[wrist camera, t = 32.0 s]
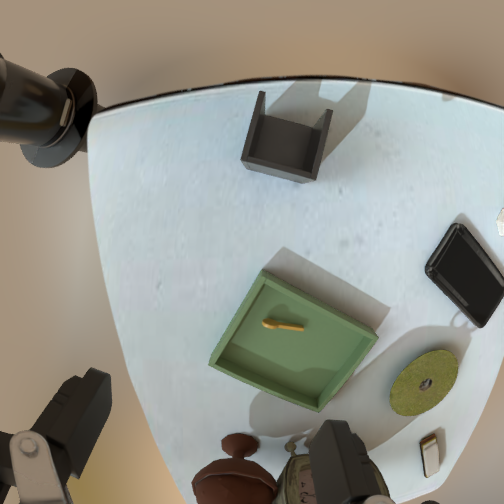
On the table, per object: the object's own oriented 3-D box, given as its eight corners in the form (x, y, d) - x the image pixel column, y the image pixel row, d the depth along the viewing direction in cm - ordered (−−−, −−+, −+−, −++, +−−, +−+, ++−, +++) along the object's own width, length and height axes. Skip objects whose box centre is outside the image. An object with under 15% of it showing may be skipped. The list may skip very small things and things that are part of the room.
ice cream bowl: (291, 440, 37) (298, 523, 22) (245, 472, 39) (239, 546, 24) (232, 409, 36) (218, 498, 21) (189, 445, 38) (168, 522, 23)
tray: (211, 354, 34) (207, 365, 32) (261, 269, 32) (261, 275, 30) (316, 401, 35) (318, 413, 33) (372, 328, 33) (379, 337, 30)
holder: (246, 169, 30) (240, 160, 22) (260, 115, 29) (259, 90, 21) (302, 183, 30) (315, 180, 22) (316, 130, 29) (333, 110, 21)
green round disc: (375, 411, 35) (379, 420, 34) (399, 344, 33) (404, 351, 31) (436, 404, 35) (441, 411, 33) (461, 342, 33) (468, 347, 31)
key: (262, 327, 31) (263, 324, 31) (260, 320, 32) (261, 317, 32) (304, 333, 31) (305, 330, 31) (300, 326, 33) (301, 323, 33)
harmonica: (418, 441, 37) (422, 448, 35) (433, 432, 36) (438, 439, 35) (423, 474, 39) (426, 481, 37) (436, 467, 39) (440, 473, 37)
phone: (459, 219, 29) (509, 286, 30) (454, 219, 30) (505, 284, 31) (425, 273, 30) (480, 331, 31) (420, 271, 31) (476, 328, 32)
